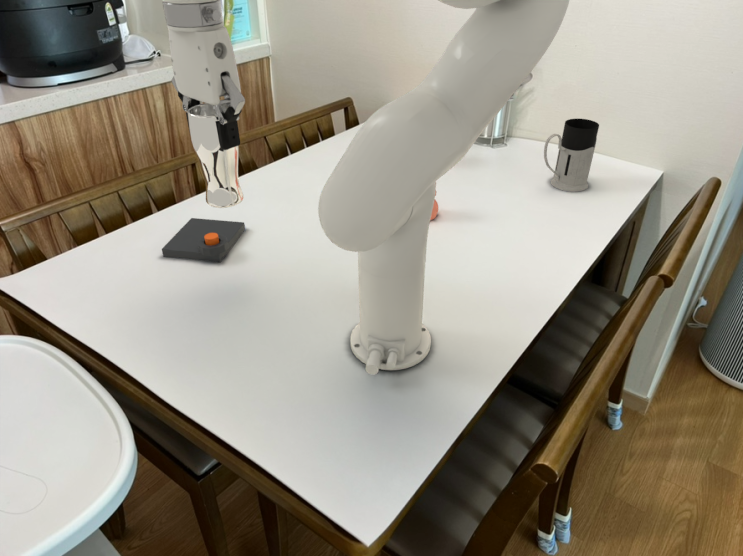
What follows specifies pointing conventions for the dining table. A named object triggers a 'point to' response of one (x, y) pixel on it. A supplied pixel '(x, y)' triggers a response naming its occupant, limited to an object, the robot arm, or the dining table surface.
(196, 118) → the beer glass
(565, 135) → the glass holder
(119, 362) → the dining table surface
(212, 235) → the button
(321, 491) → the dining table surface
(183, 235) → the dark grey flat block
